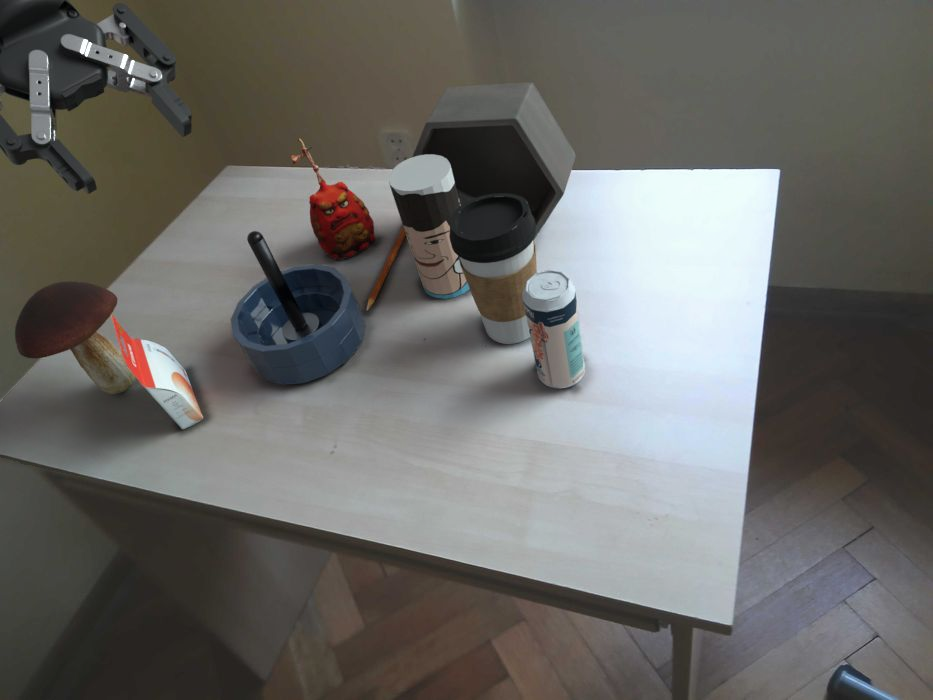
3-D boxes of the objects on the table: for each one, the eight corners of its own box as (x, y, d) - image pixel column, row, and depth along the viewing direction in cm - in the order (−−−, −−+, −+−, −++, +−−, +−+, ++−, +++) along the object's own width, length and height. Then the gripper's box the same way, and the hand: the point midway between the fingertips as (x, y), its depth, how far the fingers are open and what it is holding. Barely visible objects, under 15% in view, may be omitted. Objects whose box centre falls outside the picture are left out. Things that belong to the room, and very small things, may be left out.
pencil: (413, 219, 95) (412, 215, 95) (370, 312, 84) (368, 308, 83) (408, 219, 95) (407, 215, 95) (364, 312, 84) (362, 308, 83)
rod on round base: (291, 357, 80) (232, 252, 69) (286, 332, 83) (229, 228, 72) (327, 343, 81) (275, 237, 70) (322, 319, 84) (270, 214, 73)
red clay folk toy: (336, 270, 91) (292, 169, 80) (314, 246, 95) (270, 148, 85) (386, 242, 93) (350, 140, 82) (362, 220, 97) (325, 121, 87)
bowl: (259, 404, 77) (235, 367, 73) (249, 326, 86) (227, 290, 82) (377, 360, 78) (360, 321, 74) (354, 288, 87) (338, 250, 83)
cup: (414, 277, 87) (378, 172, 76) (462, 253, 88) (434, 147, 77) (437, 306, 82) (402, 199, 71) (487, 281, 83) (461, 172, 73)
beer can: (539, 356, 73) (523, 268, 65) (586, 354, 72) (575, 265, 64) (536, 392, 70) (518, 304, 62) (585, 391, 69) (573, 301, 61)
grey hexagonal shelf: (388, 217, 88) (442, 80, 72) (408, 181, 93) (463, 45, 77) (509, 277, 90) (588, 157, 74) (523, 239, 95) (599, 118, 79)
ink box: (186, 370, 83) (135, 299, 75) (205, 420, 77) (150, 348, 69) (163, 382, 83) (109, 311, 74) (180, 433, 76) (122, 362, 68)
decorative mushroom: (122, 349, 89) (44, 256, 79) (187, 357, 84) (113, 259, 74) (61, 417, 82) (-32, 325, 72) (128, 430, 78) (38, 333, 67)
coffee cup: (538, 357, 73) (516, 244, 63) (463, 347, 77) (431, 237, 66) (560, 302, 78) (544, 188, 68) (489, 294, 82) (463, 184, 71)
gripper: (-128, -6, 46) (49, 187, 47) (68, -88, 52) (220, 87, 53) (-89, 60, 53) (65, 228, 54) (80, -18, 59) (215, 135, 60)
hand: (141, 157), depth 54 cm, fingers open, 8 cm apart
